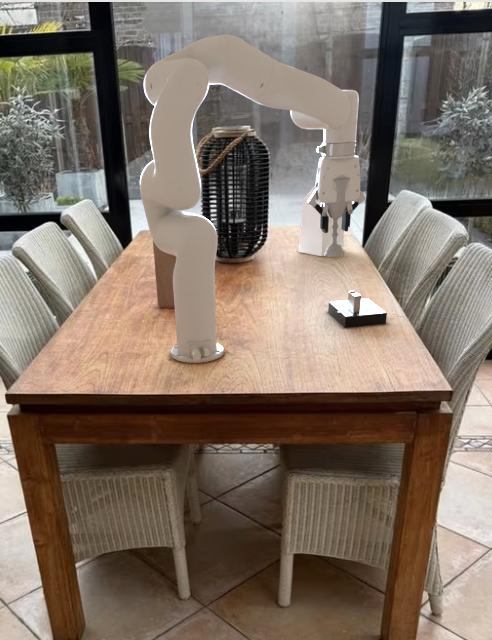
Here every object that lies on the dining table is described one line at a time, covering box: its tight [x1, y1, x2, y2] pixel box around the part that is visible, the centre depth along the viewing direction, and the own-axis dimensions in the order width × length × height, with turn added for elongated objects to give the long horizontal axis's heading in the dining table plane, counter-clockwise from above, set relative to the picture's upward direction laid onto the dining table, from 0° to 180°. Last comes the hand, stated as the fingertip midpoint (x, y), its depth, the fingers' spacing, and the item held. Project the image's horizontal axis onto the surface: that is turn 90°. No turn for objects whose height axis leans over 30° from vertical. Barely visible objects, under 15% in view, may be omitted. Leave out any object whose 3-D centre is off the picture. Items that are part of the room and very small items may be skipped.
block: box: [152, 240, 176, 309], centre depth 190 cm, size 10×10×20 cm
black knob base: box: [327, 297, 388, 329], centre depth 173 cm, size 14×12×3 cm
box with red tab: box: [347, 289, 362, 314], centre depth 169 cm, size 5×2×5 cm, turn 8°
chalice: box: [323, 178, 350, 258], centre depth 162 cm, size 7×7×18 cm
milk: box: [297, 183, 345, 257], centre depth 239 cm, size 12×12×26 cm
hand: (334, 230), depth 164 cm, fingers closed on chalice, 4 cm apart
